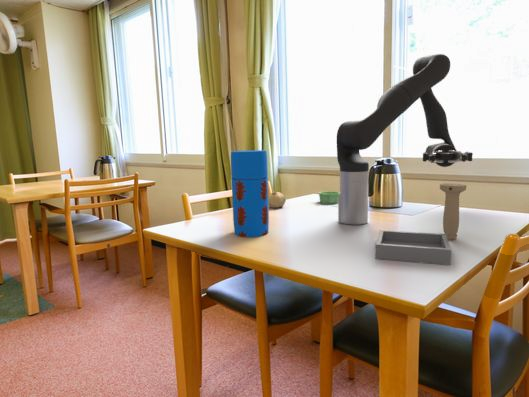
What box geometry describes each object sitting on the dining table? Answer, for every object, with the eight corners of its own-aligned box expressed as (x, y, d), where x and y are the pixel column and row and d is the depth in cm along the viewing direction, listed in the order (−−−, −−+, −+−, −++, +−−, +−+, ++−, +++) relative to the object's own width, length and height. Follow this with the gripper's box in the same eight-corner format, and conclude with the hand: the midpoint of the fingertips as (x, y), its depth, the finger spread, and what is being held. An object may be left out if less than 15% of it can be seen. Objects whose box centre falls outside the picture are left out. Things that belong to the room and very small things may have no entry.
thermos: (256, 239, 109) (253, 152, 105) (226, 234, 115) (223, 152, 111) (275, 230, 118) (273, 150, 114) (247, 227, 124) (244, 150, 120)
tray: (375, 258, 89) (375, 244, 89) (379, 242, 102) (379, 230, 102) (450, 265, 84) (451, 249, 83) (444, 247, 97) (445, 234, 96)
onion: (264, 206, 159) (264, 189, 158) (282, 205, 161) (282, 188, 160) (269, 210, 152) (268, 192, 151) (288, 208, 154) (287, 191, 152)
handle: (460, 242, 100) (464, 186, 98) (435, 238, 104) (437, 185, 102) (464, 238, 104) (468, 184, 102) (440, 235, 108) (442, 183, 106)
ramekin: (342, 201, 166) (342, 191, 165) (335, 205, 158) (335, 194, 158) (323, 200, 171) (323, 190, 170) (315, 203, 163) (315, 193, 162)
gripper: (422, 144, 132) (423, 146, 117) (468, 143, 127) (475, 145, 112) (421, 165, 133) (422, 170, 118) (466, 165, 128) (474, 170, 113)
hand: (448, 158), depth 115 cm, fingers open, 8 cm apart
